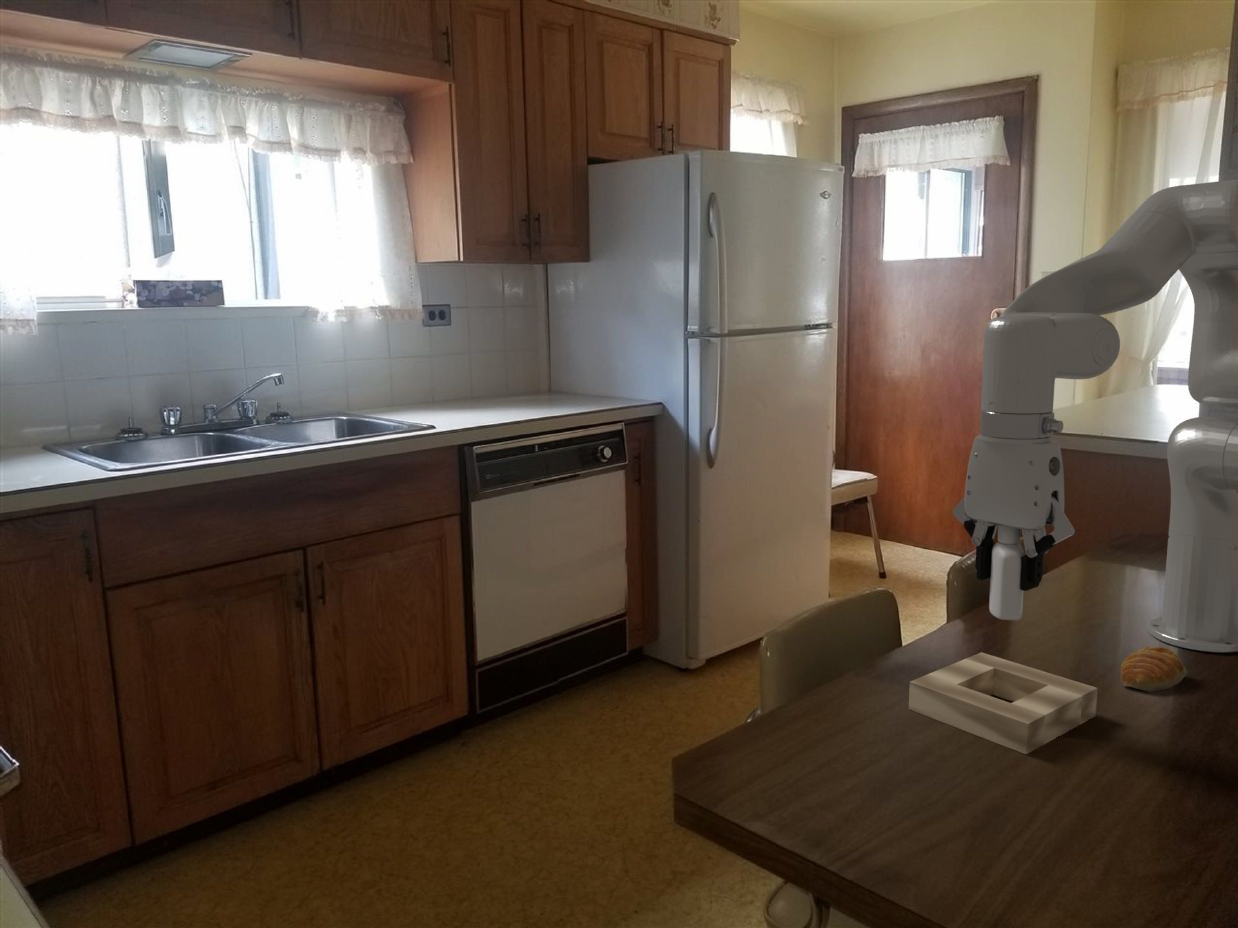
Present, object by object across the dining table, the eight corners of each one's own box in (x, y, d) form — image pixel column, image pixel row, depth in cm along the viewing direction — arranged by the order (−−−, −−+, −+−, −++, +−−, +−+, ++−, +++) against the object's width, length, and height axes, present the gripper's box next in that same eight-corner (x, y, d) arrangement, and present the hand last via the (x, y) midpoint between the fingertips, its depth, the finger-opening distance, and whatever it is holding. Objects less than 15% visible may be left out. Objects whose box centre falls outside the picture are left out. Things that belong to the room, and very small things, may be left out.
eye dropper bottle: (1032, 611, 112) (1038, 510, 110) (1016, 623, 108) (1021, 519, 106) (995, 603, 115) (999, 506, 113) (977, 616, 111) (981, 514, 109)
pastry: (1164, 701, 116) (1166, 671, 116) (1105, 686, 121) (1107, 657, 121) (1188, 679, 123) (1190, 650, 122) (1132, 665, 128) (1134, 638, 127)
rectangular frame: (980, 677, 124) (981, 652, 123) (1095, 716, 112) (1097, 687, 112) (908, 709, 115) (909, 681, 114) (1026, 754, 103) (1027, 723, 103)
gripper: (1107, 430, 103) (1096, 593, 106) (967, 417, 117) (961, 562, 120) (1072, 437, 99) (1061, 607, 102) (930, 423, 112) (925, 573, 115)
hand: (1007, 581), depth 111 cm, fingers closed on eye dropper bottle, 4 cm apart
